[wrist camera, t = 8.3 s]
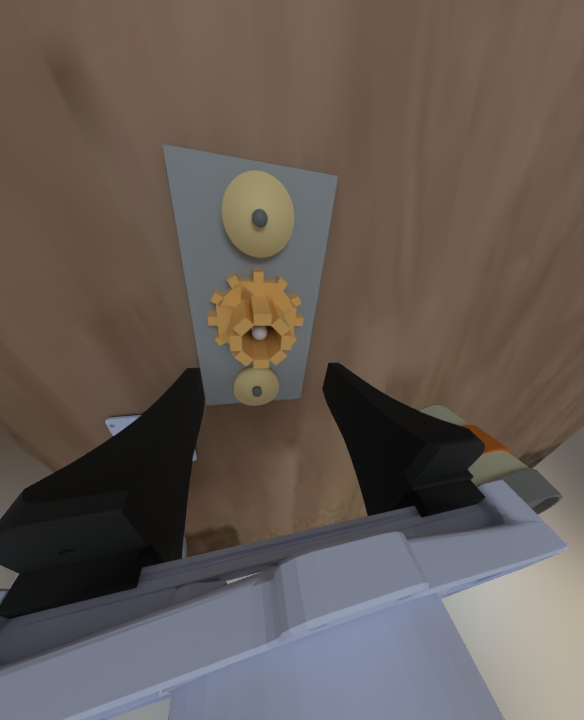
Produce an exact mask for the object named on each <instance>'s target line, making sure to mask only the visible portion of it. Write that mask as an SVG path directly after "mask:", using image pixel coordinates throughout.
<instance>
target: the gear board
mask: <svg viewBox="0 0 584 720" xmlns="http://www.w3.org/2000/svg"><path fill="white" fill-rule="evenodd" d="M163 150H164V156H165V162H166V168H167V174H168V180H169V186H170V192H171V198H172V204H173V210H174V216H175V222H176V227H177V233H178V239H179V245H180V251H181V257H182V263H183V269H184V275H185V281H186V287H187V293H188V299H189V305H190V311H191V316H192V322H193V328H194V334H195V340H196V346H197V352H198V358H199V364H200V370H201V376H202V382H203V388H204V394H205V400H206V405H207V406H209V405H222V404H235V403H243V404H246V405H250V406H258V405H263V404H266V403H268V402H270V401H274V400H287V399H300V398H301V393H302V387H303V381H304V375H305V369H306V363H307V357H308V351H309V346H310V340H311V334H312V328H313V322H314V316H315V310H316V304H317V298H318V292H319V287H320V281H321V275H322V269H323V263H324V257H325V251H326V245H327V239H328V233H329V227H330V222H331V216H332V210H333V204H334V198H335V192H336V186H337V180H338V176H335V175H329V174H324V173H318V172H313V171H307V170H302V169H297V168H291V167H286V166H280V165H275V164H269V163H264V162H258V161H253V160H247V159H242V158H236V157H231V156H225V155H220V154H214V153H209V152H203V151H198V150H192V149H187V148H182V147H176V146H171V145H165V144H163ZM253 269H262V270H263V272H264V279H274V280H275V279H276V277H277V276H278V275H279V276H281V277H282V278H283V279H285V280H286V281H287V283H288V285H287V286H286V288H285V289H284V292H285V293H286V294H287V296H288V295H290V294H292V293H294V292H296V294H297V295H298V297H299V299H300V301H301V305H299V306H297V309H296V313H300V314H301V315H302V317H303V318H304V319H303V326H294V334H295V336H296V338H297V340H296V341H295V342H294V344H293V345H292V346H291V350H286V353H287V357H286V358H285V359H283V360H282V361H281V362H280V363H278V364H277V365H275V364H274V363H272V362H271V361H270V360H269V368H257V369H253V361H252V362H251V363H250V364H249V365H248V366H245V365H244V364H242V363H241V362H240V361H238V360H237V359H236V358H234V356H233V355H232V351H231V350H230V344H228V343H225V344H223V345H221V346H219V345H218V343H217V342H216V341H215V340H214V339H215V334H216V333H217V332H219V331H218V326H208V318H207V316H208V313H209V311H213V312H217V311H216V304H215V303H213V302H211V301H210V300H211V297H212V295H213V293H214V291H215V289H218V290H220V291H221V292H223V293H225V292H226V291H227V290H228V289H229V288H230V287H231V286H230V285H229V283H228V281H227V277H228V276H229V275H231V274H233V273H235V272H236V273H237V275H238V277H239V278H253ZM266 327H267V326H260V325H254V326H253V327H252V328H250V329H249V330H252V335H253V337H254V338H255V339H256V340H263V339H265V338H266V336H267V329H266Z"/></svg>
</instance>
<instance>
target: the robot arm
mask: <svg viewBox="0 0 584 720" xmlns="http://www.w3.org/2000/svg"><path fill="white" fill-rule="evenodd" d="M322 389H323V393H324V396H325V399H326V402H327V405H328V407H329V409H330V411H331V413H332V415H333V417H334V419H335V421H336V423H337V425H338V427H339V430H340V432H341V434H342V436H343V438H344V440H345V443H346V446H347V449H348V451H349V454H350V457H351V460H352V463H353V466H354V469H355V472H356V475H357V478H358V482H359V485H360V489H361V492H362V495H363V499H364V503H365V507H366V511H367V514H368V516H367V517H363V518H358V519H354V520H350V521H345V522H341V523H336V524H332V525H328V526H323V527H319V528H314V529H310V530H306V531H301V532H297V533H292V534H288V535H284V536H279V537H275V538H270V539H266V540H262V541H257V542H253V543H249V544H244V545H240V546H235V547H231V548H227V549H222V550H218V551H213V552H209V553H205V554H200V555H196V556H191V557H187V558H186V538H185V535H184V528H185V519H186V509H187V499H188V491H189V482H190V475H191V467H192V461H195V460H196V459H197V454H196V450H195V446H196V442H197V438H198V434H199V429H200V425H201V421H202V417H203V410H204V401H205V395H204V389H203V383H202V377H201V371H200V368H187V369H186V370H185V371H184V372H183V373H182V375H181V376H180V377H179V378H178V379H177V380H176V381H175V382H174V384H173V385H172V386H171V387H170V388H169V389H168V390H167V391H166V392H165V393H164V394H163V395H162V396H161V397H160V398H159V399H158V400H157V401H156V402H155V403H154V404H153V405H152V406H151V407H150V408H149V409H148V410H146V411H145V412H144V413H143V414H142V415H134V416H121V417H110V418H107V420H106V421H105V423H106V425H107V427H108V428H109V430H110V432H111V434H112V435H113V437H111V438H110V439H109V440H107V441H106V442H104V443H103V444H101V445H100V446H98V447H97V448H95V449H94V450H92V451H90V452H89V453H87V454H86V455H84V456H82V457H81V458H79V459H77V460H76V461H74V462H72V463H71V464H69V465H67V466H66V467H64V468H62V469H60V470H58V471H57V472H55V473H53V474H51V475H49V476H47V477H46V478H44V479H42V480H40V481H38V482H37V483H35V484H33V485H31V486H29V487H27V488H25V489H24V490H23V492H22V493H21V494H20V495H19V496H18V497H17V499H16V500H15V501H14V503H13V504H12V505H11V506H10V508H9V509H8V510H7V512H6V513H5V514H4V515H3V517H2V518H1V519H0V565H1V566H4V567H6V568H8V569H10V570H13V571H15V572H17V573H18V575H17V576H16V578H15V579H14V581H13V583H12V584H11V586H10V588H9V589H0V720H107V719H109V718H112V717H115V716H118V715H120V714H124V713H126V712H129V711H132V710H135V709H138V708H141V707H144V706H146V705H149V704H152V703H155V702H158V701H160V700H163V699H166V698H169V697H171V702H170V710H169V717H168V720H505V719H504V718H503V716H502V714H501V712H500V710H499V708H498V706H497V704H496V703H495V701H494V699H493V697H492V695H491V693H490V691H489V689H488V687H487V686H486V684H485V682H484V680H483V678H482V676H481V674H480V672H479V671H478V668H477V667H476V665H475V663H474V661H473V659H472V657H471V655H470V653H469V651H468V650H467V648H466V646H465V644H464V642H463V640H462V638H461V636H460V634H459V633H458V631H457V629H456V627H455V625H454V623H453V621H452V619H451V618H450V616H449V614H448V612H447V610H446V608H445V606H444V604H443V602H442V600H441V599H442V598H444V597H447V596H450V595H452V594H455V593H458V592H460V591H463V590H466V589H468V588H471V587H474V586H476V585H479V584H482V583H484V582H487V581H490V580H493V579H495V578H498V577H501V576H503V575H506V574H509V573H512V572H514V571H517V570H520V569H523V568H525V567H527V566H530V565H532V564H535V563H537V562H539V561H542V560H544V559H547V558H549V557H552V556H554V555H556V554H559V553H561V552H564V551H566V550H568V549H569V546H568V545H567V544H566V543H565V542H564V541H563V540H562V539H561V538H560V537H559V536H558V535H557V534H556V533H555V532H554V531H553V530H552V529H551V528H550V527H549V526H548V525H547V524H546V523H545V522H544V521H543V520H542V519H541V518H540V517H539V516H538V515H537V514H536V513H535V512H534V511H533V510H532V509H531V508H530V507H529V506H528V505H527V504H526V503H525V502H524V501H523V500H522V499H521V498H520V497H519V496H518V495H517V494H516V493H515V492H514V491H513V490H512V489H511V488H510V487H509V486H508V485H507V484H506V483H505V482H504V481H503V480H501V479H498V480H494V481H489V482H484V483H481V484H479V485H477V486H475V484H474V483H473V482H472V481H471V480H470V479H473V475H472V474H471V473H470V472H469V470H468V468H469V467H470V466H471V465H472V464H473V463H474V462H475V461H476V460H477V459H478V458H479V457H480V456H481V455H482V454H483V452H484V450H485V444H484V443H483V441H481V440H480V439H479V438H478V437H477V436H476V435H475V434H474V433H473V432H472V431H471V430H470V429H468V428H466V427H463V426H459V425H456V424H453V423H450V422H447V421H444V420H441V419H438V418H436V417H433V416H430V415H428V414H425V413H423V412H420V411H418V410H416V409H413V408H411V407H409V406H407V405H405V404H403V403H401V402H399V401H397V400H395V399H393V398H391V397H389V396H387V395H386V394H384V393H382V392H381V391H379V390H377V389H376V388H374V387H373V386H371V385H370V384H368V383H367V382H365V381H364V380H362V379H361V378H359V377H358V376H357V375H355V374H354V373H352V372H351V371H350V370H348V369H347V368H345V367H344V366H343V365H341V364H339V363H328V367H327V371H326V376H325V380H324V384H323V388H322ZM262 571H263V572H262ZM258 572H261V573H258ZM254 573H258V574H255V575H253V576H250V577H247V578H244V579H241V580H238V581H236V582H233V583H230V584H227V583H226V582H225V581H227V580H232V579H235V578H239V577H243V576H247V575H250V574H254Z"/></svg>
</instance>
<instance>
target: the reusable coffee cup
mask: <svg viewBox="0 0 584 720" xmlns="http://www.w3.org/2000/svg"><path fill="white" fill-rule="evenodd" d="M419 411H420V412H423V413H425V414H428V415H430V416H433V417H436V418H438V419H441V420H444V421H447V422H450V423H453V424H456V425H459V426H463V427H466V428H468V429H470V430H471V431H472V432H473V433H474V434H475V435H476V436H477V437H478V438H479V439H480V440H481V441H483V443H484V444H485V450H484V452H483V454H482V455H481V456H480V457H479V458H478V459H477V460H476V461H475V462H474V463H473V464H472V465H471V466H470V467H469V468H468V470H469V472H470V473H471V474H472V475H473V479H470V480H471V481H472V482H473V483H474V484H475V486H477V485H479V484H481V483H484V482H489V481H494V480H498V479H501V480H503V481H504V482H505V483H506V484H507V485H508V486H509V487H510V488H511V489H512V490H513V491H514V492H515V493H516V494H517V495H518V496H519V497H520V498H521V499H522V500H523V501H524V502H525V503H526V504H527V505H528V506H529V507H530V508H531V509H532V510H533V511H534V512H535V513H536V514H537V515H538V514H540V513H542V512H544V511H545V510H547V509H549V508H550V507H552V506H553V505H555V504H556V503H558V502H559V501H560V500H561V499H562V497H563V496H562V495H561V494H560V493H559V492H558V491H557V490H556V489H555V488H554V487H553V486H552V485H551V484H550V483H549V482H548V481H547V480H546V479H545V478H544V477H543V476H542V475H541V474H540V473H539V472H538V471H537V470H535V469H530V468H529V467H527V466H526V465H525V464H523V463H522V462H520V461H519V460H518V459H516V458H515V457H514V456H512V455H511V451H510V450H509V449H508V448H506V447H505V446H504V445H502V444H501V443H499V442H498V441H497V440H495V439H494V438H492V437H491V436H490V435H488V434H487V433H485V432H484V431H483V430H481V429H480V428H478V427H477V426H475V425H470V424H468V423H467V422H465V421H464V420H463V419H461V418H460V417H459V416H457V415H456V414H454V413H453V412H452V411H450V410H449V409H448V408H446V407H445V406H443V405H433V406H429V407H426V408H423V409H421V410H419Z"/></svg>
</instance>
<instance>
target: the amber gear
mask: <svg viewBox="0 0 584 720" xmlns="http://www.w3.org/2000/svg"><path fill="white" fill-rule="evenodd" d="M227 281H228V283H229V285H230V286H231V287H230V288H229V289H228V290H227V291H226V292H225V293H223V292H221V291H220V290H218V289H215V291H214V293H213V295H212V297H211V300H210V301H211V302H213V303H215V304H216V311H217V312H213V311H209V313H208V316H207V318H208V326H218V331H219V332H217V333H216V334H215V339H214V340H215V341H216V342H217V343H218V345H219V346H221V345H223V344H225V343H228V344H230V350H231V351H232V355H233V356H234V358H236V359H237V360H238V361H240V362H241V363H242V364H244V365H245V366H248V365H249V364H250V363H251V362H252V361H253V369H257V368H269V360H270V361H271V362H272V363H274V364H275V365H277V364H278V363H280V362H281V361H282V360H283V359H285V358H286V357H287V353H286V350H291V346H292V345H293V344H294V342H295V341H296V340H297V338H296V336H295V334H294V326H303V319H304V318H303V317H302V315H301V314H300V313H296V309H297V306H299V305H301V301H300V299H299V297H298V295H297V294H296V292H294V293H292V294H290V295H288V296H287V294H286V293H285V292H284V289H285V288H286V286H287V285H288V283H287V281H286V280H285V279H283V278H282V277H281V276H279V275H278V276H277V277H276V279H275V280H274V279H264V272H263V270H262V269H253V278H239V277H238V275H237V273H236V272H235V273H233V274H231V275H229V276H228V277H227ZM254 325H260V326H267V327H266V329H267V336H266V338H265V339H263V340H256V339H255V338H254V337H253V335H252V330H249V329H250V328H252V327H253V326H254Z"/></svg>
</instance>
